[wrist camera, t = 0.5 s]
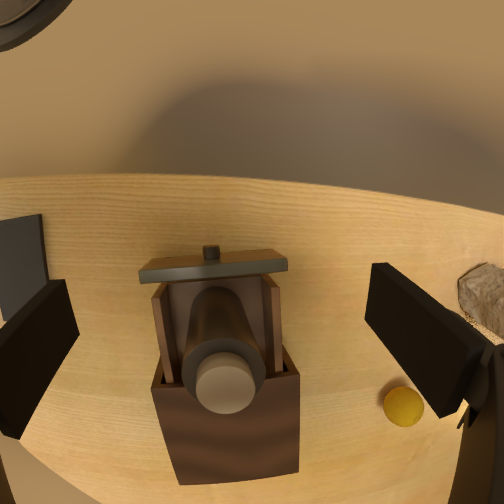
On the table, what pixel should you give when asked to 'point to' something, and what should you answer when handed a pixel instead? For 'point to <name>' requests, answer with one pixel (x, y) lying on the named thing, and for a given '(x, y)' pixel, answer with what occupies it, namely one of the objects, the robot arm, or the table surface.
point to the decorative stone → (484, 297)
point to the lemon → (403, 406)
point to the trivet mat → (21, 262)
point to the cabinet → (231, 431)
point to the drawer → (213, 266)
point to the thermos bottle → (221, 353)
